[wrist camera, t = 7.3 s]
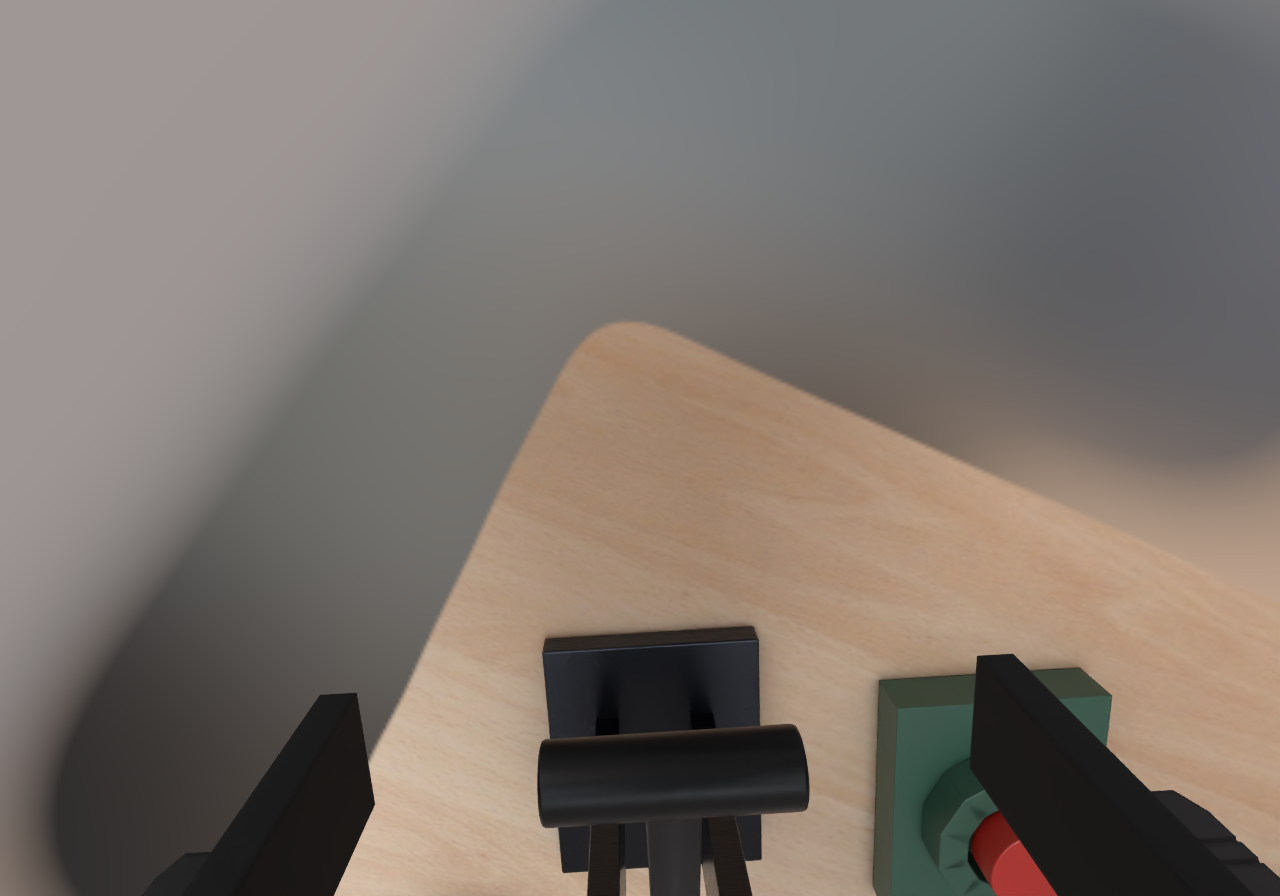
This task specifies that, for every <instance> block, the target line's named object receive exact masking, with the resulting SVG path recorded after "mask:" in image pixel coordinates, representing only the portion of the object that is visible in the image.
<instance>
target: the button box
mask: <svg viewBox="0 0 1280 896" xmlns="http://www.w3.org/2000/svg"><path fill="white" fill-rule="evenodd" d="M1031 672H1032V673H1033V674H1034V675H1035V676H1036V677H1037V678H1038V679H1039V680H1040V681H1041V682H1042V683H1043V684H1044V685H1045V686H1046V687H1047V688H1048V689H1049V690H1050V691H1051V692H1052V693H1053V694H1054V695H1055V696H1056V697H1057V698H1058V699H1059V700H1060V701H1061V702H1062V703H1063V704H1064V705H1065V706H1066V707H1067V708H1068V709H1069V710H1070V711H1071V712H1072V713H1073V714H1074V715H1075V716H1076V717H1077V718H1078V719H1079V720H1080V721H1081V722H1082V723H1083V724H1084V725H1085V726H1086V727H1087V728H1088V729H1089V730H1090V731H1091V732H1092V733H1093V734H1094V735H1095V736H1096V737H1097V738H1098V739H1099V740H1100V741H1101V742H1102V743H1103V744H1104V745H1105V746H1106V745H1107V736H1108V727H1109V719H1110V710H1111V701H1112V695H1111V694H1110V693H1109V692H1107V691H1106V690H1105V689H1104V688H1103V687H1102V686H1100V685H1099V684H1098V683H1097V682H1096V681H1095V680H1093V679H1092V678H1091V677H1090V676H1089V675H1088V674H1086V673H1085V672H1084V671H1083V670H1082V669H1081V668H1072V669H1056V670H1040V671H1031ZM975 679H976V675H959V676H943V677H927V678H911V679H895V680H880V681H879V706H878V740H877V773H876V806H875V840H874V873H873V887H874V890H875V892H876V894H877V896H996V894H995V893H994V891H993V890H992V888H991V886H990V885H989V883H988V881H987V880H986V878H985V876H984V875H983V873H982V871H981V870H980V868H979V866H978V865H977V863H976V861H975V859H974V857H973V854H972V849H971V842H972V837H973V833H974V832H975V830H976V829H977V827H978V826H979V825H980V823H981V822H982V820H983V819H984V818H985V817H987V816H989V815H990V814H992V813H994V812H996V811H998V809H997V807H996V806H995V804H994V803H993V801H992V800H991V798H990V797H989V796H988V794H987V793H986V791H985V790H984V788H983V787H982V785H981V784H980V782H979V781H978V780H977V778H976V777H975V775H974V774H973V772H972V771H971V769H970V768H969V764H970V750H971V736H972V722H973V708H974V694H975Z"/></svg>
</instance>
